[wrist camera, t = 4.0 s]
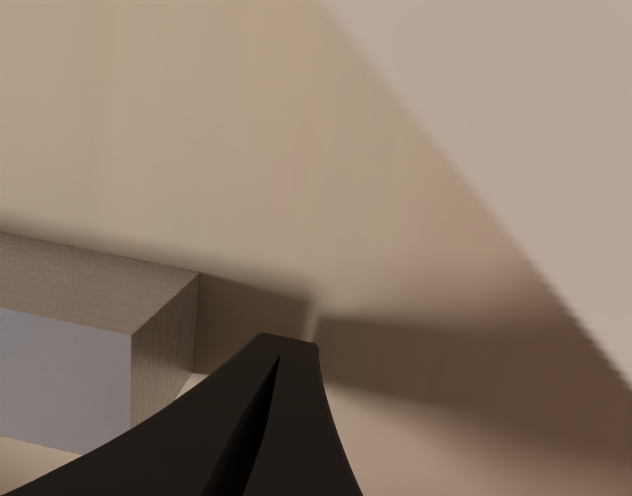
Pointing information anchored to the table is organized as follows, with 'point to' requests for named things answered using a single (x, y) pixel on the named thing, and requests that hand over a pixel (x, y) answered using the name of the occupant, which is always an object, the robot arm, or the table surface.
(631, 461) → the table surface
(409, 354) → the table surface
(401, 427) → the table surface
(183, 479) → the robot arm
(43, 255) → the brushed steel block
